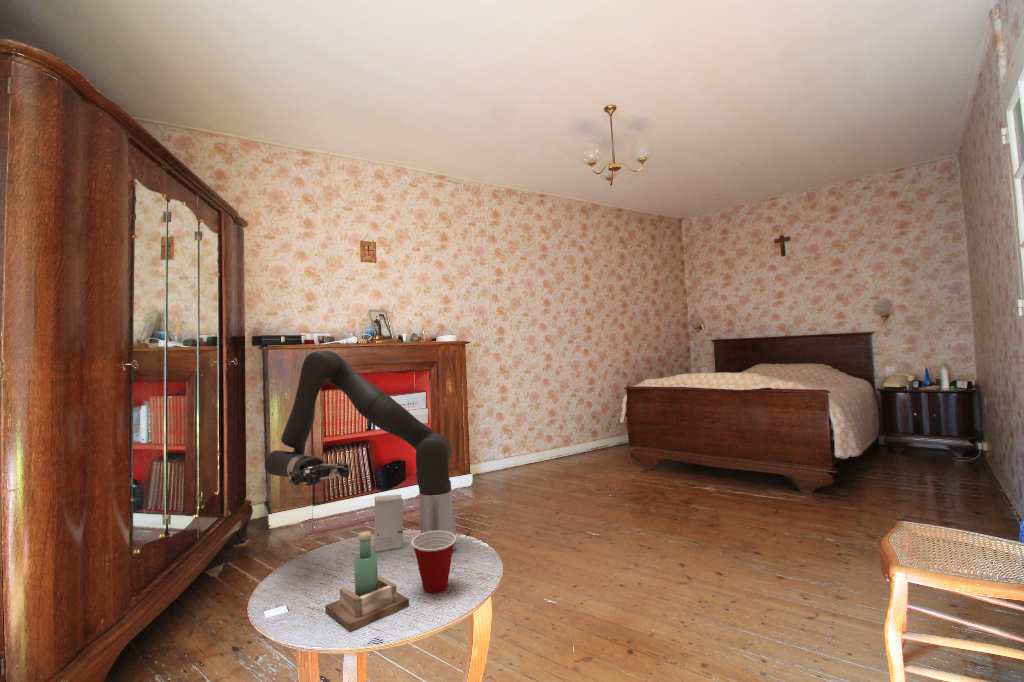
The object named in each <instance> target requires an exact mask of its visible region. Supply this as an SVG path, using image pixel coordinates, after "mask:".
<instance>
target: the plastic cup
mask: <svg viewBox="0 0 1024 682" xmlns="http://www.w3.org/2000/svg"><path fill="white" fill-rule="evenodd" d="M455 542H456V543H457V535H456V536H455V535H454V534H453V533H451V532H448V531H441V530H438V531H428V532H424V533H421V532H420V533H419V534H417V535H416V536H414V537H413V538H412V539H411V546H412V547H413V550H414V553H415V557H416V562H417V567H418V571H419V576H420V579H421V584H422V588H423V591H424V592H425V593H427V594H439V593H441V592H442V593H443V592H444V591H446V590H447V589H448V585H449V579H450V578H449V577H450V571H451V565H452V564H451V563H452V554H453V552H454V550H453V546H454V543H455ZM452 551H453V552H452Z"/></svg>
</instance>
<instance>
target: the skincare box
mask: <svg viewBox="0 0 1024 682" xmlns="http://www.w3.org/2000/svg"><path fill="white" fill-rule="evenodd" d="M403 503H404V502H403V496H402V494H388V495H378V496H374V549H375V553H377V552H383V551H389V550H394V549H395V550H396V549H402V548H403V547H404V541H403V540H404V539H403V537H404V536H403V535H404V533H403V532H404V531H403V529H404V528H403V527H404V526H403V525H404V520H403V519H404V518H403V517H404V515H403V513H404V512H403V511H404V507H403Z"/></svg>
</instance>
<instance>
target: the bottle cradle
mask: <svg viewBox="0 0 1024 682" xmlns="http://www.w3.org/2000/svg"><path fill="white" fill-rule="evenodd" d="M397 591H398V590H397V584H395V583H393V582H392V581H390V580H388V579H387V578H385V577H383V576H381V575H379V574H378V590H376V591H373V592H370V593H368V594H365V595H363V596H360V597H359V596H358V595H356V594H355V592H353V591H351V590H350V589H348V588H347V587H345V586H344V587H342V588H341V587H340V588H339V599H337V600H336V601H334V602H331V603H328V604H326V605H324V606H325V607H324V609H325V610H324V611H325V612H324V613H326V614H327V616H329V617H330V618H332V619H333V620H334V621H335V622H337V623H338V624H339V625H341V626H342V627H343V628H344V629H345V630H347V631H348V632H352V631H355V630H357V629H359V628H362V627H364V626H366V625H369V624H371V623H373V622H376V621H378V620H380V619H383V618H384V617H388V616H389V615H391V614H394V613H396V612H398V611H401V610H403V609H405V608H408V607H410V599H409V598H408V597H406V596H404V595H402V594H401V593H399V592H397Z"/></svg>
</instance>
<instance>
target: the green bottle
mask: <svg viewBox="0 0 1024 682" xmlns="http://www.w3.org/2000/svg"><path fill="white" fill-rule="evenodd" d="M371 539H372V532H371V531H370V530H364V531H360V532H359V533H358V540H359V553H358V554H356V555H355V556H354V557H353V567H354V568H353V569H354V570H353V571H354V572H353V573H354V593H355V594H356V595H358V596H359V597H360V596H363V595H365V594H368V593H370V592H373V591H376V590H378V575H379V574H378V553H377V552H373V551H372V543H371V542H372V541H371Z"/></svg>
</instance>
